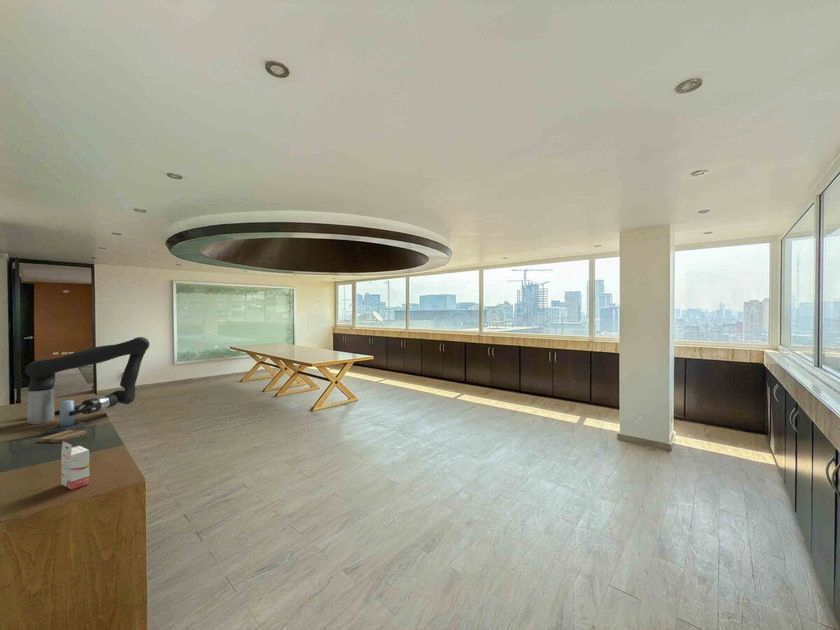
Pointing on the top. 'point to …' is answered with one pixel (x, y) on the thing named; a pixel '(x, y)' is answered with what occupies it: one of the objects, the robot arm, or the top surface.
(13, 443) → the top surface
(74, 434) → the walnut board
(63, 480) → the ink cartridge box
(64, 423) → the canister
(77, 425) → the square grey frame
